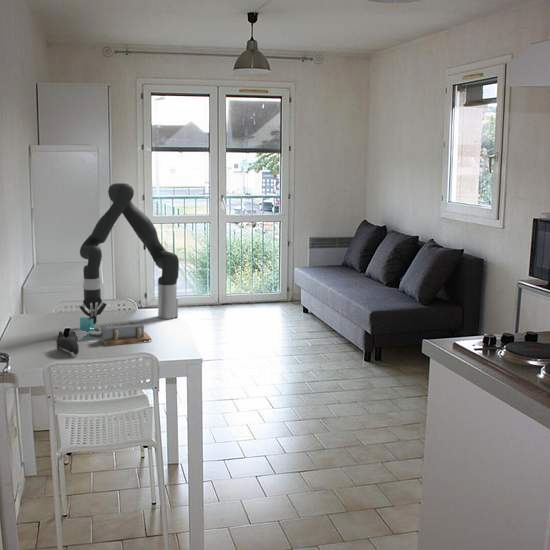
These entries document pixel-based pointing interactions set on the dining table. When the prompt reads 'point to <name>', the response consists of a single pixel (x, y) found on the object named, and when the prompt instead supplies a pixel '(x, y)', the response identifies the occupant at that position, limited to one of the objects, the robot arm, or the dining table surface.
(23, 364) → the dining table surface
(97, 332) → the teal handled round piece
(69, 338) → the figurine
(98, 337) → the gray base plate
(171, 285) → the robot arm
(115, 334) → the peg rack
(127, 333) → the bar
